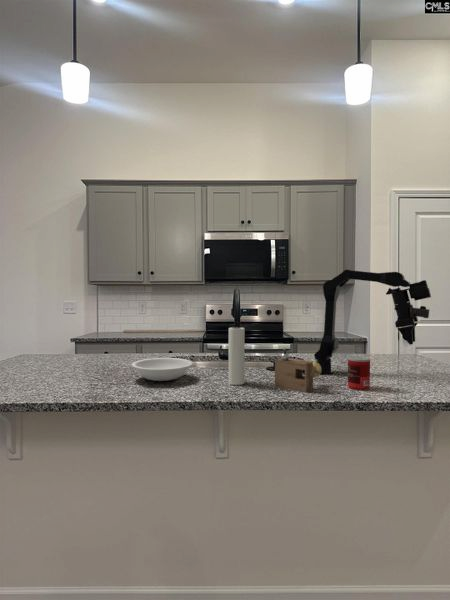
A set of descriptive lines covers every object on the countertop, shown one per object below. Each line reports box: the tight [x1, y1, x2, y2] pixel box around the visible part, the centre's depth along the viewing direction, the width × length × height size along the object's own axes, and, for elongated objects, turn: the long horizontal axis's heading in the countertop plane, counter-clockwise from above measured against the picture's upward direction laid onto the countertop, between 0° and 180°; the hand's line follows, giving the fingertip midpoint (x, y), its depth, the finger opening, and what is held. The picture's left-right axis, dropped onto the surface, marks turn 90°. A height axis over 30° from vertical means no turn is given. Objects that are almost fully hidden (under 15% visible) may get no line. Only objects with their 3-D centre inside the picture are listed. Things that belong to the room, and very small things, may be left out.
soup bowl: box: [131, 357, 194, 382], centre depth 154 cm, size 24×24×7 cm
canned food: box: [347, 355, 371, 391], centre depth 141 cm, size 8×8×11 cm
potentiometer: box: [280, 348, 290, 361], centre depth 142 cm, size 3×3×4 cm
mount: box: [274, 358, 314, 393], centre depth 141 cm, size 7×12×10 cm, turn 54°
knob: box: [303, 361, 322, 378], centre depth 143 cm, size 7×6×6 cm
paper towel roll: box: [228, 326, 246, 386], centre depth 147 cm, size 7×6×21 cm
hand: (412, 343), depth 148 cm, fingers open, 9 cm apart
